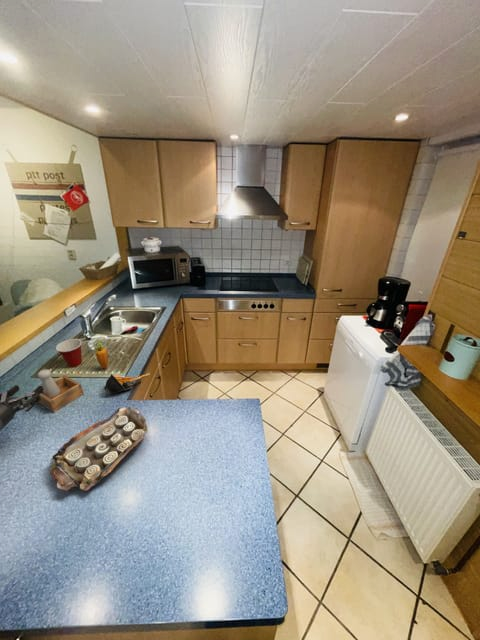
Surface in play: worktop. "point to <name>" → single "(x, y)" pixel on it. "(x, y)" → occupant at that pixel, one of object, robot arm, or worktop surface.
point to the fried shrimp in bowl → (121, 383)
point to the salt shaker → (48, 384)
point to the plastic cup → (71, 351)
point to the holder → (63, 394)
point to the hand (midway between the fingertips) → (29, 387)
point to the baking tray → (97, 449)
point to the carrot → (102, 356)
